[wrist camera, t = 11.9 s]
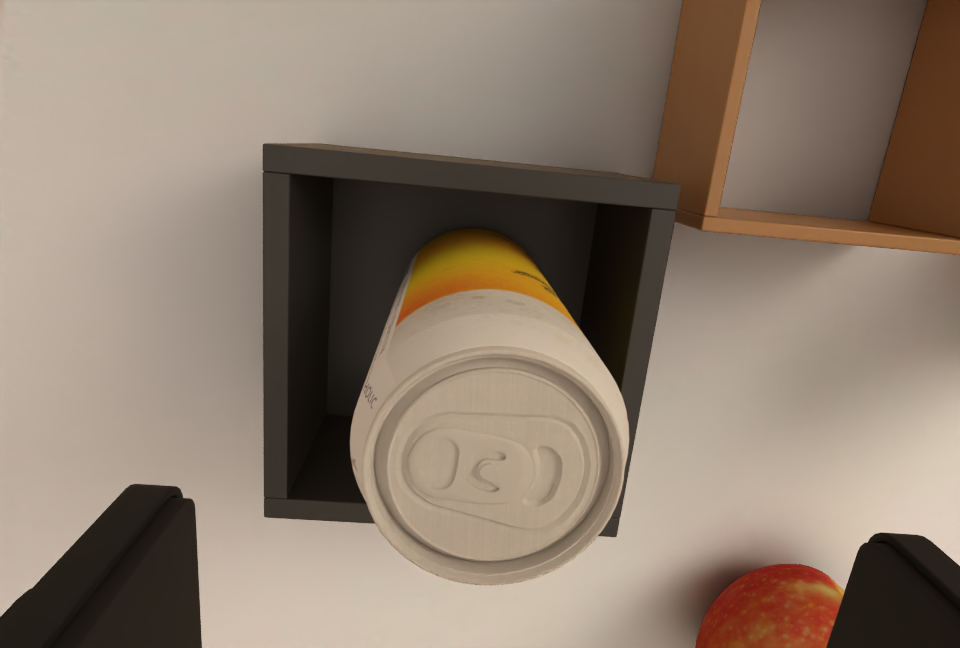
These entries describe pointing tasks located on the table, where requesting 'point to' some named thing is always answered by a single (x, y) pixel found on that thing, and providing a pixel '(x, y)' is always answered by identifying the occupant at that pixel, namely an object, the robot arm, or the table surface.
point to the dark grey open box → (381, 266)
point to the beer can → (487, 419)
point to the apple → (773, 610)
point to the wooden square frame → (909, 159)
